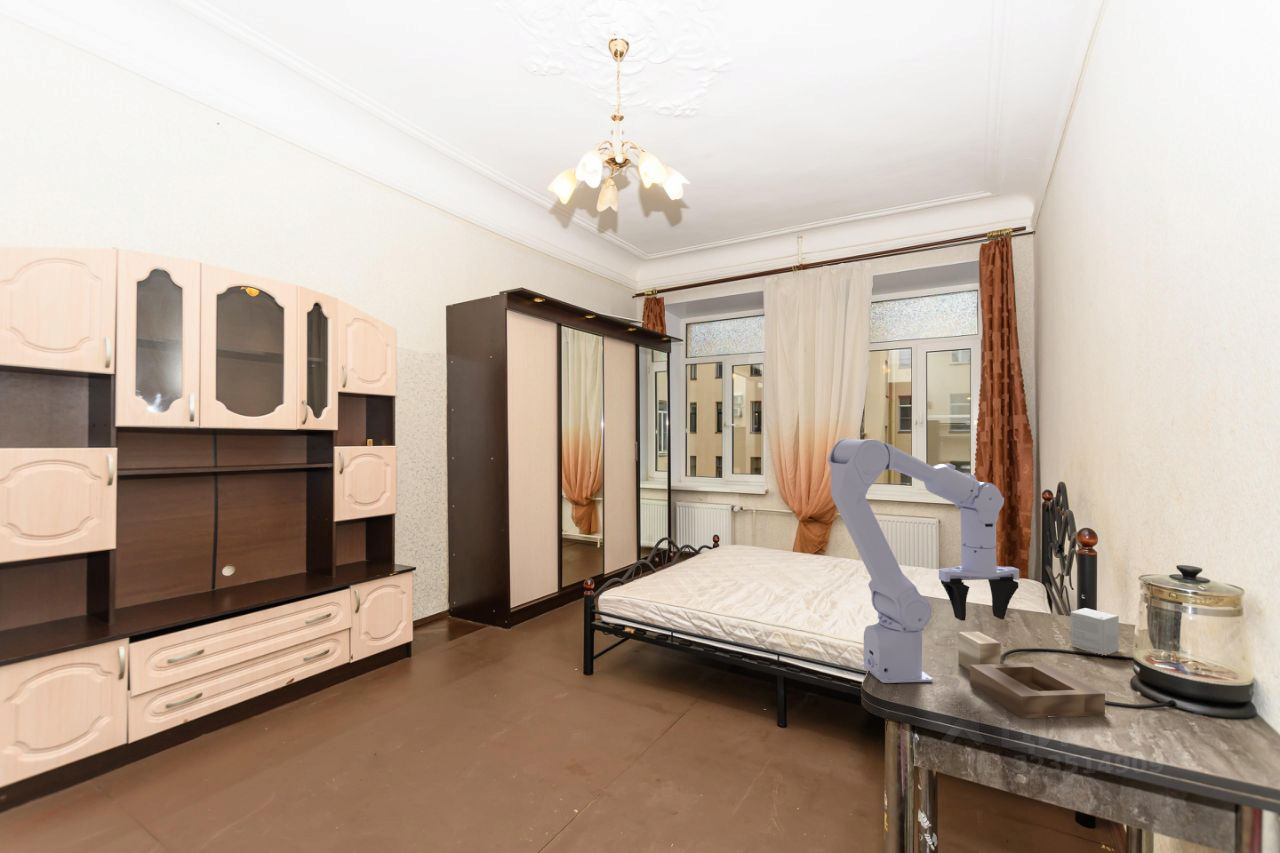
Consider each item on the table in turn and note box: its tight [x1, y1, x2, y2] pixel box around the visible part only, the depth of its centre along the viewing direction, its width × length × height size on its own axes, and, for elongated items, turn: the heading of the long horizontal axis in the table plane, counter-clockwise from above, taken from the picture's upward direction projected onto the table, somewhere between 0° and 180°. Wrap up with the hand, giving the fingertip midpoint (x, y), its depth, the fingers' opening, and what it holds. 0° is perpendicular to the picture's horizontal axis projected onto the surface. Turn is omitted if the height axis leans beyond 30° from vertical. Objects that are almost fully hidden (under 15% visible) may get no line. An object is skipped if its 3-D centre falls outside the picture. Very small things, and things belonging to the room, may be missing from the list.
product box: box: [1069, 607, 1120, 656], centre depth 117 cm, size 6×6×7 cm
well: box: [969, 662, 1106, 719], centre depth 95 cm, size 14×12×3 cm
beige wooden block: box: [957, 631, 1002, 671], centre depth 107 cm, size 4×6×6 cm, turn 5°
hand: (979, 618), depth 107 cm, fingers open, 7 cm apart
